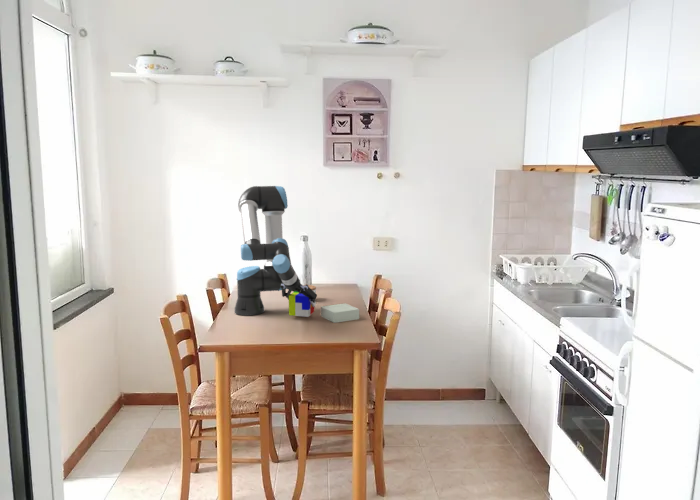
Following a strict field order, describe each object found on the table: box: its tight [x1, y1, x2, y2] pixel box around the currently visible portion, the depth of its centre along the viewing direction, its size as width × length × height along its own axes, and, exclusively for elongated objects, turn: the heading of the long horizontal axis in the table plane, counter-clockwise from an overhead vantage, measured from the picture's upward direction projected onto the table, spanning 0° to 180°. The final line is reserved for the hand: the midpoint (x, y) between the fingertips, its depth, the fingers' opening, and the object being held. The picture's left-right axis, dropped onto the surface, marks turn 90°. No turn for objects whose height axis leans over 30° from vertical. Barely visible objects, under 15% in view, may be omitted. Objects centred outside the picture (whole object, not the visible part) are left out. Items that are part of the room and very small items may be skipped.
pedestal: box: [320, 303, 360, 324], centre depth 273 cm, size 14×14×5 cm
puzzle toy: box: [288, 291, 315, 318], centre depth 272 cm, size 10×10×10 cm
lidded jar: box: [300, 284, 317, 294], centre depth 309 cm, size 11×11×9 cm
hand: (304, 303), depth 275 cm, fingers closed on puzzle toy, 11 cm apart
